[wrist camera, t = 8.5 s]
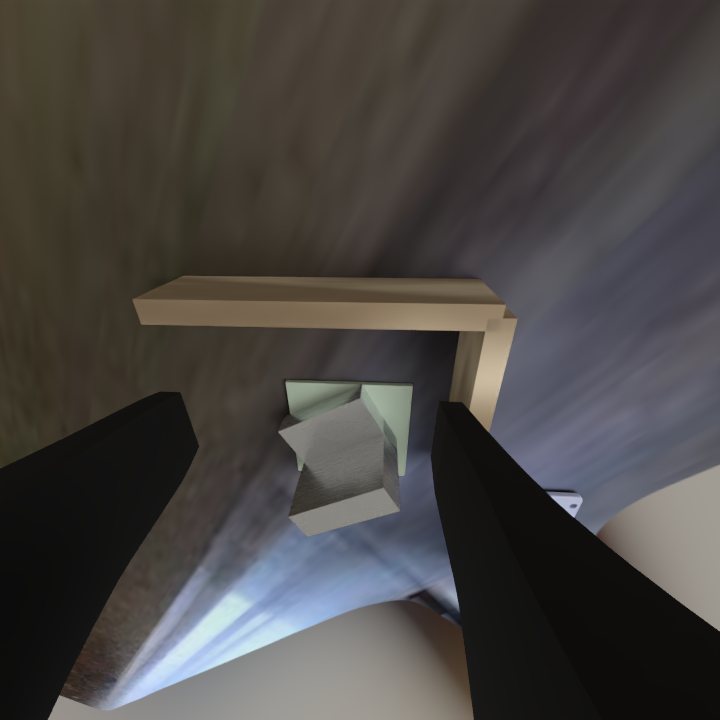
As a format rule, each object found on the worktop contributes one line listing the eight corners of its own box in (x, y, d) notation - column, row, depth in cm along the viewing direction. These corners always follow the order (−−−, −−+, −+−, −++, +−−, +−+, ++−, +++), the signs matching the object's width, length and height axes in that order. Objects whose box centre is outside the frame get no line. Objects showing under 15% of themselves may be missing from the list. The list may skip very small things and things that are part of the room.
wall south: (457, 455, 22) (470, 505, 19) (440, 454, 22) (450, 504, 19) (489, 290, 17) (517, 318, 13) (466, 290, 17) (487, 318, 13)
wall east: (476, 301, 17) (499, 331, 13) (188, 297, 18) (141, 324, 14) (480, 278, 16) (506, 304, 13) (182, 275, 17) (132, 299, 14)
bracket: (323, 464, 23) (307, 536, 19) (284, 416, 21) (255, 483, 17) (396, 438, 22) (400, 510, 17) (362, 384, 20) (354, 448, 15)
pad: (404, 472, 24) (404, 475, 23) (299, 467, 24) (298, 470, 24) (412, 383, 20) (412, 386, 19) (286, 379, 20) (285, 382, 20)
